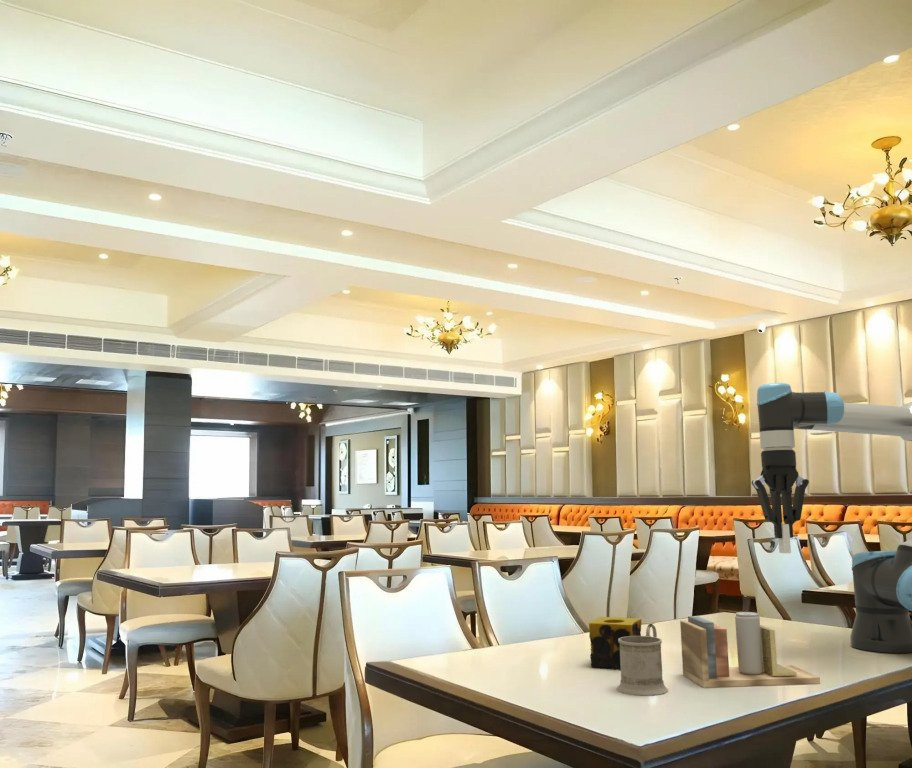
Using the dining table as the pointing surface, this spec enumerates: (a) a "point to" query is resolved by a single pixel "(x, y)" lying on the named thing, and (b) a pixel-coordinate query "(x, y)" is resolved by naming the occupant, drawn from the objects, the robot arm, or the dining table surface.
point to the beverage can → (749, 643)
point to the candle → (610, 639)
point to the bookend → (771, 654)
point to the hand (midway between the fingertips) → (785, 552)
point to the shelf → (735, 676)
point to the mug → (641, 664)
